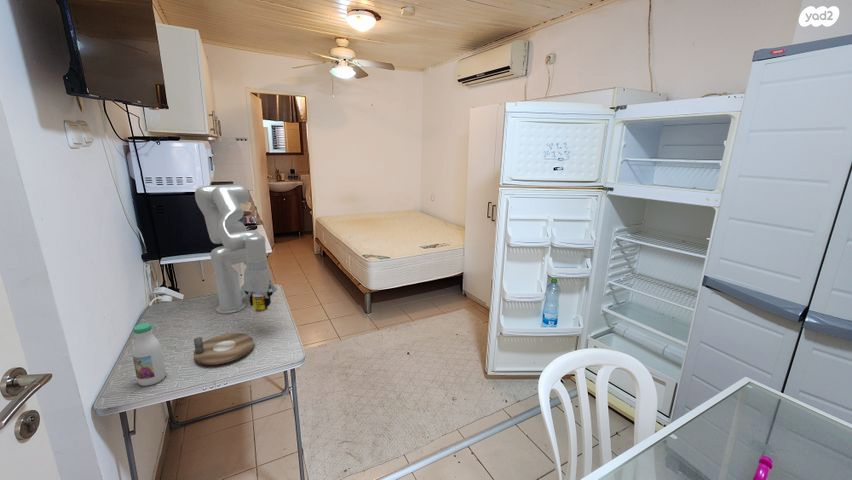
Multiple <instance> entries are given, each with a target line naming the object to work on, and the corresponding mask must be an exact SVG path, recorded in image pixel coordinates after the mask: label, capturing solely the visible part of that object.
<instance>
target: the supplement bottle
mask: <svg viewBox="0 0 852 480" xmlns="http://www.w3.org/2000/svg"><path fill="white" fill-rule="evenodd" d="M252 298H253V306H252V307H253V312H254V313H257V314H260V313H261V314H262V313H265V312H266V311H268V309H269V306H268V307H265V301H264V299H265V298H266V297H265V295H264V293H256V292H253V293H252Z"/></svg>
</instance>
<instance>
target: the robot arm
mask: <svg viewBox="0 0 852 480" xmlns="http://www.w3.org/2000/svg"><path fill="white" fill-rule="evenodd" d="M194 198H195V202H196V204H197V206H198V208H199V210H200V211H201V213H202V214H203V216H204V221H205V224H206V229H207V233H208V235H209V239H210V242H212V243H213V244H216V245H219V244H222V245H221V246H218V247H214V249H212V250H211V252H210V255H209V256H210V261H211V264H212V266H213V270H214V275H215V282H216V288H217V297H218V302H219V305H218V306H217V307H216V308H215V309H216V312H217V313H219V314H224V315H226V314H234V313H237V312H240V311H242V310H244V309H245V308H246V306H247V305H246V302H245V301H243V299H244V298H246V297H248V301H249V305H250V307H253V298H252V293H253V292H256V293H264V295H265V297H266V298H265V299H264V301H265V307H268V308H269V306H270V305H271V304H272V303H271V301H272V300H271V296H272V295H273V294H274V293H275V292H277V290H278V288H277V287H276V286H275V284H273V280H272V279H273V278H272V274H271V269H270V268H269V266H268V261H267V260H268V259H267V248H266V237H265V235H263V234H261V233H260V232H259V231H258V230H255V229H251V230H250V229H249V230H247V227H246V226H245V224H244V223H243V222H242V221H240V220H241V219H242V218H243V217H244V214H245V212H244V209H243V208H242V206H241V204H246V203H248V202H249V200H250V193H249V190H248V189H247V187H246V186H244V185H242V184H234V183H233V184H229V183H228V184H214V185H213V184H211V185H203V186H202V185H201V186H199V187H198V188H196V189H195V192H194ZM242 263H243V265H246V267H245V268H244V271H243V284H242V285H241V283H240V277H239V272H238V270H237V269H235V268H234V267H233V266H234V265H236V264H237V265H238V264H242ZM241 290H242V291H243V292H244V293H242V292H241ZM246 295H247V296H246Z"/></svg>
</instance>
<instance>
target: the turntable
mask: <svg viewBox="0 0 852 480" xmlns="http://www.w3.org/2000/svg"><path fill="white" fill-rule="evenodd" d="M193 343H194V350H193V358H194V360H195V362H197V363H198V364H203V365H206V366H207V365H220V364H225V363H229V362H232V361H234V360H235V361H236V360H238V359H239V358H241V357H244V356H245V355H247V354H249V352H251V350H252V349H253V348H254V338H253V337H252V336H251V335H250V334H247V333H242V332H234V333H233V332H232V333H226V334H221V335H220V334H219V335H217V336H214V337H211V338H209V339H207V340H205V341H203V337H202V336H201V337H195V338H193Z"/></svg>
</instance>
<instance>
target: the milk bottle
mask: <svg viewBox="0 0 852 480" xmlns="http://www.w3.org/2000/svg"><path fill="white" fill-rule="evenodd" d="M132 328H133V334H134V335H135V339H134V341H133V345H132V348H131V353H132V359H133V365H134V370H135V374H136V381H137V383H138V385H140V386H143V387H149V386H152V385H155V384H157V383H160V382H162V381H163V380H164V379H165V378H166V377H165V376H167V370H166V364H165V359H164V354H163V349H162V345H161V342H160V341H159V339H157V337H156V336H155V335H154V334H153V329H152V324H151V323H149V322H145V323H140V324H137V325H135V326H134V327H132ZM161 380H162V381H161Z"/></svg>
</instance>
